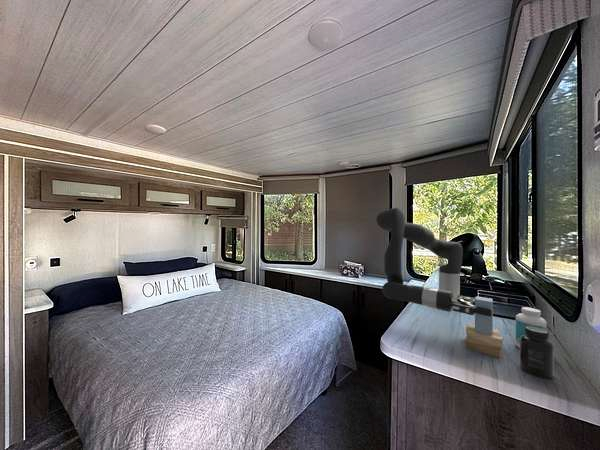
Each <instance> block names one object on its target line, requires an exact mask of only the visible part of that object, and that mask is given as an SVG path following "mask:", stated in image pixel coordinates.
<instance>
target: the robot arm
mask: <svg viewBox="0 0 600 450" xmlns="http://www.w3.org/2000/svg"><path fill="white" fill-rule="evenodd" d="M375 219H376V223H377V225H378V226H379V228H381V229H382V230H384V231H386V232H389V233H391V238H390V240H389V243H388V244H387V247H386V250H385V253H384V257H383V259H384V260H383V261H384V262H383V263H384V264H383V270H384V271H383V272H384V274H385V275H386V278H387V279H386V280H387V281H386V282H385V283H383V285H382V287H381V290H382V294H383V295H384V296H385V297H386V298H387V299H390V300H394V301H400V302H402V301H403V302H409V303H413V304H416V305H420V306H424V307H426V308H431V309H435V310H440V311H444V312H448V313H450V312H457V313H460V314H461V313H462V314H465V315H470V316H475V314H481V315H485V316H491V315H492V310H491V309H487V308H482V307H476V306H475V298H476V297H471V296H465V295H460V293H461V292H460V291H461V287H460V286H461V285H460V284H461V270H462V265H463V255H464V254H463V253H464V252H463V251H464V250H463V249H464V248H463V246H462V244H461V243H459V242H458V241H447V240H446V241H445V240H440V239H438V238H436V237H435V234H434V232H433V231H432V230H431V229H429V228H427V227H426V226H424V225H421V224H417V223H413V222H408V221H407V222H406V215H405V212H404V211H403V210H402V209H401V208H400V207H393V208H389V209H386V210H383V211H381V212H379V213H378V214H377V216H376V218H375ZM404 239H405V240H407V241H409V242H411V243H413V244H415V245H416V246H417V245H418V246H419V247H421V248H423V249H425V250H429V251H430V252H432V254H435V255H436V256H437V257H439V258H440V259H445V260H448V261H447V263H446V264H442V265H439V268H438V288H436V287H428V286H427V287H425V286H420V285H413V284H412V285H410V284H408V285H407V284H404V279H403V274H402V273H403V272H402V267H403V266H402V248H403V242H404Z"/></svg>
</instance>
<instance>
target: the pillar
mask: <svg viewBox="0 0 600 450" xmlns="http://www.w3.org/2000/svg"><path fill="white" fill-rule="evenodd" d="M474 298H475V306H476V307H482V308H487V309H491V310H492V315H491V316H485V315H481V314H474V325H475V332H479V333H483V334H488V335H492V333H493V329H494V325H493V324H494V320H493V319H494V314H493V313H494V311H493V309H494V308H493V307H494V305H493V304H494V303H493V302H494V300H493V298H490V297H489V298H488V297H484V296H483V297H482V296H478V295H477V296H475V297H474Z"/></svg>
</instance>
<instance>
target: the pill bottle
mask: <svg viewBox="0 0 600 450" xmlns="http://www.w3.org/2000/svg"><path fill="white" fill-rule="evenodd" d="M541 315H542V311H541V310H540V309H537V308H533V307H528V306H527V307H525V306H524V307H523V306H522V307H521V313H518V314H516V315H515V334H514V335H515V337H514V338H515V341H514V342H515V345H516V347H518V348H519V349H520V337H521V336H523V335H526V334H525V326H533V327H538V328H541V329H544V330H546V331H548V330H547V326H548V323H547V321H546V319H545V318H543V317H541Z"/></svg>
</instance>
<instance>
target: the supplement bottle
mask: <svg viewBox="0 0 600 450" xmlns="http://www.w3.org/2000/svg"><path fill="white" fill-rule="evenodd" d="M525 334H526V335H523V336H521V337H520V348H519V366H520V368H521V369H522V370H524V371H525V372H527V373H529V374H531V375H533V376H536V377H540V378H544V379H551V378H552V377H553V376H554V365H555V364H554V362H555V360H554V359H555V358H554V357H555V346H554V345H553V343H552V342H551V341H550V340H549V339H550V333H549V331H548V330H544V329H541V328H538V327H533V326H525Z"/></svg>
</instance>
